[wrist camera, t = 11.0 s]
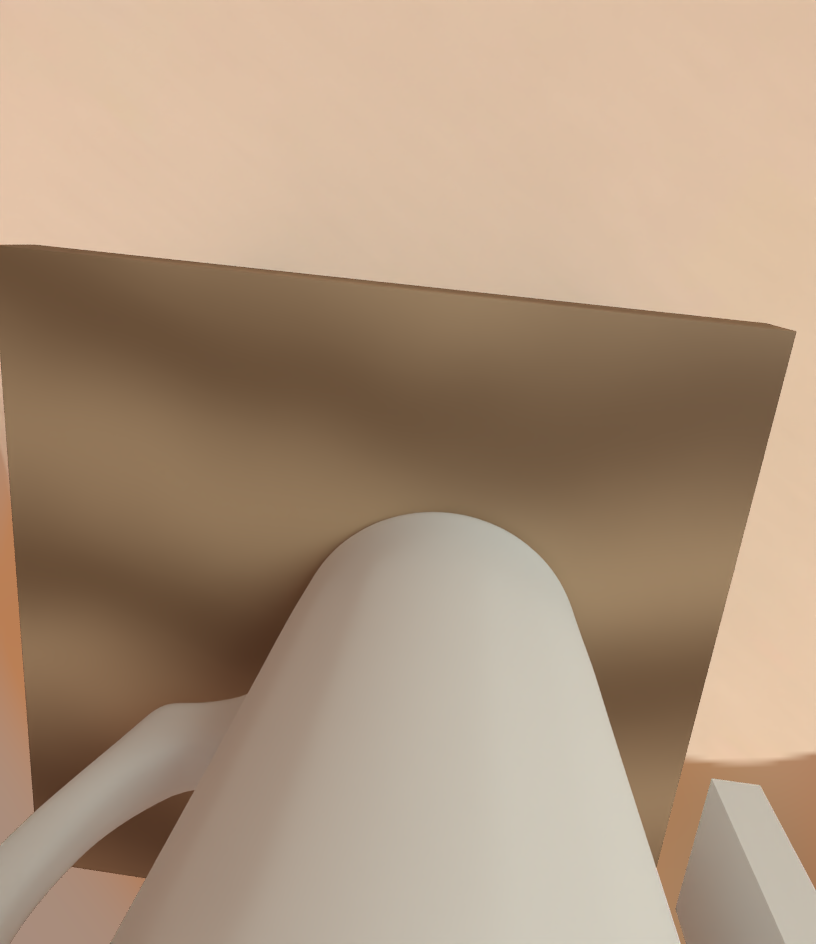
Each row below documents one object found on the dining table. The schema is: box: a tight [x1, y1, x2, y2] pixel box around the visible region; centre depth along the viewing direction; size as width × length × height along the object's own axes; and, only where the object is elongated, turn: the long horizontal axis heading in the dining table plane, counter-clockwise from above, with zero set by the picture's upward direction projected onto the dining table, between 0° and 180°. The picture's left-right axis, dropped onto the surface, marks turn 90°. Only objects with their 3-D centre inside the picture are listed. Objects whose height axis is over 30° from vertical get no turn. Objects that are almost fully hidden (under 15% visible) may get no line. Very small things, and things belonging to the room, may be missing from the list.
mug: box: [0, 512, 681, 944], centre depth 11 cm, size 10×7×12 cm, turn 96°
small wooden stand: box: [0, 245, 796, 878], centre depth 22 cm, size 16×16×10 cm
